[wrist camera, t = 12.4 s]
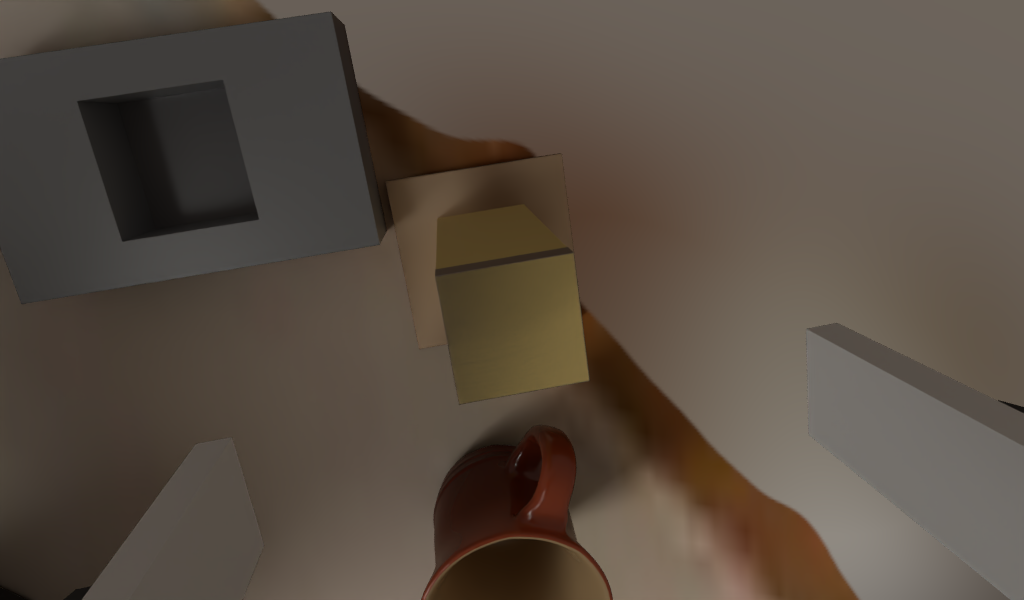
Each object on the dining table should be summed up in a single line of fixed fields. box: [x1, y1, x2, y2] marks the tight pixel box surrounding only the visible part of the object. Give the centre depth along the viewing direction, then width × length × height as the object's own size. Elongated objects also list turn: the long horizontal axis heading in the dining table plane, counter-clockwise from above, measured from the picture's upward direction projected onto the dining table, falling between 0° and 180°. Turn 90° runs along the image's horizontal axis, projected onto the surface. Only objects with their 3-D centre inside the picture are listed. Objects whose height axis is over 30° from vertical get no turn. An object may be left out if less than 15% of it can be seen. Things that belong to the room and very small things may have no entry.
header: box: [0, 12, 387, 304], centre depth 30 cm, size 16×10×4 cm, turn 99°
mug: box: [421, 425, 613, 600], centre depth 33 cm, size 12×9×10 cm
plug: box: [435, 204, 590, 405], centre depth 28 cm, size 4×4×13 cm
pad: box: [386, 153, 582, 349], centre depth 34 cm, size 9×9×1 cm
